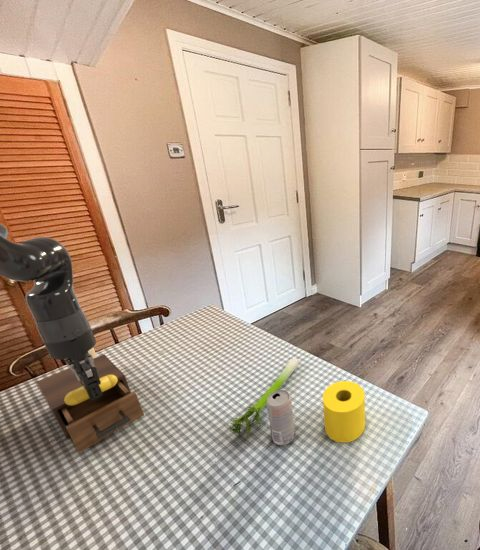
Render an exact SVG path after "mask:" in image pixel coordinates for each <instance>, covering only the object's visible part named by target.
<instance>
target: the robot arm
mask: <svg viewBox="0 0 480 550" xmlns="http://www.w3.org/2000/svg"><path fill="white" fill-rule="evenodd" d="M8 236H9V230H8V228H7V227H6V226H5V225H4V224H2V223H1V222H0V276H1V277H3V278H4V279H8V280H11V281H15V282H34V284H33V286H32V287H31V289H30V290H28V292H26V294H25V302H26V305H27V307H28V309H29V311H30V313H31V316H32V317H33V320H34V322H35V326H36V330H37V331H38V334H39V336H40V338H41V341H42V342H43V344H44V347H45V348H46V350H47V353H48V355H49V357H50V358H51V359H52V360H59V361H60V360H62V361H63V360H64V362H65V364H66V366H67V367H68V369H69V368H70V369H71V372H72V373H73V374H74V375H75V376H76V378H77V380H78V381H80V382H81V384H82V386H83V387H84V388H85V389H86V391H87V393H88V395H89V398H90V399H91V400H92V401H93V400H96V399H98V398H100V397H102V396H103V393H102V391H101V389H100V386H99V385H100V384H101V383H100V382H101V381H100V380H99V376H98V373H97V368H96V367H95V365H94V363H93V362H94V359H93V357H92V355H89V352H88V351H89V350H90V349H92V348H94V347H95V346H96V345H97V340H96V337H95V335H94V332H93V329H92V327H91V325H90V323H89V319H88V318H87V316H86V314H85V312H84V310H83V309H82V308H81V304H80V302H79V299H78V297H77V295H76V293H75V291H74V272H73V263H72V258H71V255H70V253H69V251H68V250H67V248H66V247H65V246H64V245H63V244H62V243H61V242H60V241H58V240H56V239H54V238H52V237H47V236H39V237H33V238H29V239H27V240H23V241H20V242H18V243H17V242H13V241H11V240H8Z"/></svg>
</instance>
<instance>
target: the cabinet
mask: <svg viewBox="0 0 480 550" xmlns="http://www.w3.org/2000/svg"><path fill="white" fill-rule="evenodd" d="M93 363H94V365H95V367H96V368H97V373H98V376H99V379H100V378H102V377H104V376H106V375H115V376H116V377H117V379H118V381H120V382H121V383H122V384H123V385H124V386H125V387H126V388H127V390H128V391H129V392H130V393H132V391H131V387H130V386H129V384H128V381H127V378H126V375H125V373H123V372H122V371H121V370H120V368H118V367H117V366H116V364H115V363H114V362H113V361H111V359H109V358H108V357H107V355H106V354H102V355H99V356H97V357H96V358H94V362H93ZM36 384H37V386H38V388H39V390H40V392H41V394H42V396H43V397H44V399H45V402H46V404H47V405H48V407H49V409H50V411H51V413H52V414H53V417H54V418H55V420H56V422H57V423H58V426H59V427H60V429H61V431H62V433H63V435H64V436H65V439H68V438H71V436H70V435H69V433H68V431H67V429H66V426H68V424H67V422H66V420H65V418H64V416H63V414H62V412H61V410H60V409H61V408H63V407H65V406H67V404H66V403H65V401H64V398H65V396H66V395H67V394H68V393H69V392H71V391H73V390H76V389H78V388H80V387H82V384H81V382H80V381H78V380H77V378H76V376H75V375H74V374H73V373H72V372H71V369H70V368H69V367H68V368H66V369H65V370H63V371H60V372H58V373H54V374H53V375H50V376H48V377H45V378H43V379H40V380H39V381H36Z"/></svg>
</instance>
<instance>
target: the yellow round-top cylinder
mask: <svg viewBox="0 0 480 550" xmlns="http://www.w3.org/2000/svg"><path fill="white" fill-rule="evenodd" d="M99 380H100V381H101V382H100V383H101V384H100V385H99V386H100V389H101V391H102V392H104V391H106V390H108V389H110V388H112V387H114V386H115V385H116V384H117V381H118V379H117V377H116V376H115V375H106V376H104V377H102V378H100V379H99ZM87 399H89V395H88V393H87V391H86V389H85V388H84V387H83V386H82V387H80V388H78V389H76V390H73V391H71V392H69V393H68V394H67V395H66V396H65V398H64V401H65V403H66V404H67V405H70V406H73V405H77V404H79V403H81V402H83V401H85V400H87Z"/></svg>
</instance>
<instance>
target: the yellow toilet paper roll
mask: <svg viewBox="0 0 480 550" xmlns="http://www.w3.org/2000/svg"><path fill="white" fill-rule="evenodd" d="M365 399H366V394H365V390H364V388H363V387H362V386H361V385H360V384H358V383H356V382H354V381H351V380H340V381H336V382H333V383H331V384H330V385H328V386H327V387H326V388H325V390H324V391H323V393H322V406H323V407H322V409H323V410H322V411H323V423H324V430H325V431H324V432H325V434H326V436H328V438H329V439H330V440H332V441H334V442H336V443H350V442H351V443H352V442H354V441H356V440H357V439H359V438H360V437H361V436H362V434H363V433H364V431H365V429H366V400H365Z"/></svg>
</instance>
